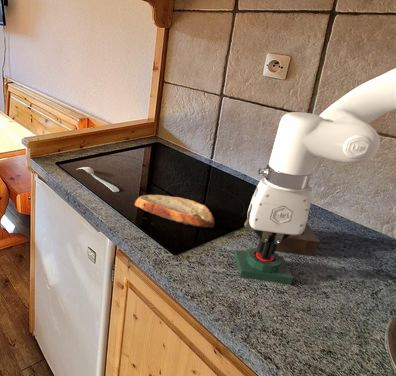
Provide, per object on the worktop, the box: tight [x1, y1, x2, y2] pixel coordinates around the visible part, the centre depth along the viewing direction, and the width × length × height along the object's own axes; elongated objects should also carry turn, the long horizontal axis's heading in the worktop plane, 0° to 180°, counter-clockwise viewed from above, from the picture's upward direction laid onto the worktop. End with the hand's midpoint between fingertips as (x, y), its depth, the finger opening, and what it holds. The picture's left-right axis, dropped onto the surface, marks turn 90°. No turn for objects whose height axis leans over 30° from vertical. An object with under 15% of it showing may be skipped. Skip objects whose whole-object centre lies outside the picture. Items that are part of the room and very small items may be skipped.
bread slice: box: [134, 194, 216, 229], centre depth 109 cm, size 18×18×4 cm
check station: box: [233, 247, 294, 286], centre depth 87 cm, size 10×8×4 cm
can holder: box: [269, 222, 321, 257], centre depth 98 cm, size 11×11×4 cm
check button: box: [255, 252, 274, 262], centre depth 87 cm, size 4×4×2 cm
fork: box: [77, 166, 120, 193], centre depth 129 cm, size 3×21×3 cm, turn 32°
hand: (264, 255), depth 86 cm, fingers closed
